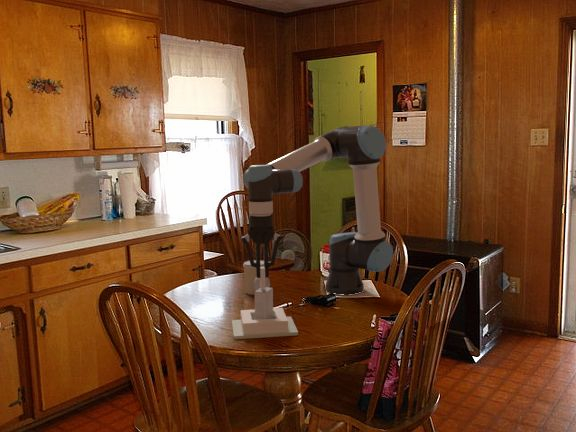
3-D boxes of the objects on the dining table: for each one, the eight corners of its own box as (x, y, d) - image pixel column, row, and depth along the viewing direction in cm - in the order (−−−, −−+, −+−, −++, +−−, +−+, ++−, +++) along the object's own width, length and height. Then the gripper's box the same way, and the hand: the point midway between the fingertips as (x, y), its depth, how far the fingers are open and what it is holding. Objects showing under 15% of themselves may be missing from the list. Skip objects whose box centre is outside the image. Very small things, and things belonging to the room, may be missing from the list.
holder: (291, 319, 198) (290, 306, 198) (298, 335, 183) (298, 321, 182) (231, 322, 196) (231, 309, 195) (233, 339, 180) (233, 325, 179)
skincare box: (261, 322, 193) (260, 286, 191) (274, 323, 191) (273, 287, 190) (254, 328, 187) (253, 291, 185) (267, 329, 185) (266, 292, 184)
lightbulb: (268, 307, 212) (267, 277, 211) (252, 306, 214) (251, 277, 212) (272, 302, 218) (271, 273, 217) (256, 302, 220) (255, 273, 218)
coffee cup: (271, 292, 232) (271, 262, 231) (251, 296, 227) (250, 266, 225) (259, 287, 240) (258, 259, 238) (239, 291, 235) (238, 262, 233)
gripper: (280, 212, 189) (281, 283, 192) (239, 213, 187) (241, 285, 190) (283, 215, 181) (284, 289, 184) (240, 216, 179) (243, 291, 183)
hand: (262, 287), depth 187 cm, fingers closed
